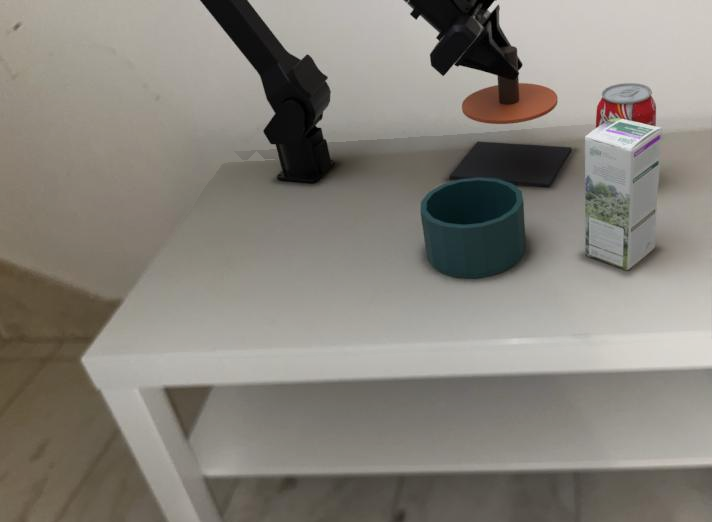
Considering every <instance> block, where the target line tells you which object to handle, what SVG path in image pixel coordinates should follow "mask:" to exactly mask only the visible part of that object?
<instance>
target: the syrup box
mask: <svg viewBox="0 0 712 522" xmlns="http://www.w3.org/2000/svg"><path fill="white" fill-rule="evenodd" d="M662 132H663V128H662V127H661V126H657V125H656V126H651V125H647V124H643V123H639V122H634V121H630V120H625V119H621V118H616V117H615V118H612V119H611V120H609V121H606V122H605V123H603V124H601V125H600V126H598V127H597V128H596V127H595V128H594V129H593V130H591V131H590V132H589V133H588V134H586V135H585V136H584V218H585V219H584V224H585V225H584V232H585V233H584V234H585V239H584V240H585V243H584V246H585V248H584V249H585V256H587V257H589V258H592V259H595V260H597V261H601V262H603V263H606V264H609V265H611V266H614V267H617V268H619V269H622V270H625V271H629V270H630V269H631V268H633V267H634V266H636V265H637V264H638V263H639V262H640V261H642V259H644V258H645V257H646V256H648V255H649V254H650V253H651V252H652V251H653V250H655V249H656V248H655V247H656V234H657V233H656V231H657V229H656V227H657V210H658V195H659V181H660V169H661V168H660V167H661V166H660V165H661V155H662V136H663V133H662Z"/></svg>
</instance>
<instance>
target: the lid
mask: <svg viewBox="0 0 712 522" xmlns="http://www.w3.org/2000/svg"><path fill="white" fill-rule="evenodd" d="M500 49H501V50H502V52H503V53H504V54H505V55H506V56H507V58H508V59H509V60H510V61H511V62H512V64H513V65H514V66H515V68H516V69H517V70H518V58H517V56H518V48H517V47H516V46H513V45H511V46H504V47H500ZM496 77H497V84H496V85H492V86H487V87H484V88H482V89H479V90H476V91H474V92H473V93H470V94H469V95H468V96H467V97H465V99H463V101H462V103H461V112H462V114H464V116H465V117H467V118H468V119H470V120H471V121H474V122H477V123H483V124H491V125H510V124H511V125H513V124H519V123H525V122H529V121H533V120H536V119H538V118H541V117H543V116H545V115H548V114H549V113H551V112H552V111H554V109H555V108H556V107H557V105H558V103H559V101H558V99H559V97H558V94H557V93H556V92H555V91H554V90H553V89H551V88H549V87H547V86H545V85H544V86H543V85H540V84H535V83H527V82H519V80H520V79H519V76H518V77H517V78H516V79H515V80H511V79H507V78H504V77H501V76H497V75H496Z"/></svg>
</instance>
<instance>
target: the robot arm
mask: <svg viewBox="0 0 712 522" xmlns="http://www.w3.org/2000/svg"><path fill="white" fill-rule="evenodd" d="M403 1H404V2H405V4H407V5H408V6H409V7H410V8H411V9H412V10H411V12H410V13H409V15H410V16H411V17H412V18H413V19H414V20H415V21H417V20H418V19H419V17H421V18H422V19H423V20H424V21H425V22H427V24H429V25H430V26H431V27H432V28H433V29H434V30H435V31H436V32H437V33H438V34H437V36H436V37H435V39H436V40H437V41H438V42H437V43H436V45H434V47H433V49H432V50H431V52H430V53H429V60H430V66H431V67H432V68H433V69H434V70H435V71H437V72H438V73H439V74H440V75H441V76H442V77H444V76H445V75H446V74H448V72H449V71H450V69H451V68H453V66H455V67H457V68H458V67H464V68H469V69H472V70H477V71H481V72H483V73H488V74H491V75H495V76H496V77H497V76H501V77H504V78H507V79H511V80H515V79H516V78H517V77H518V78H519V75H520V70H521V69H522V68H523V65H524V64H523V62H522V61H521V59H520V57H519V56H518V55H517V58H518V70H517V69H516V68H515V66H514V65H513V64H512V62H511V61H510V60H509V59H508V58H507V56H506V55H505V54H504V53H503V52H502V50H501V49H500V47H504V46H512V44H511V43H510V41H509V39H508V38H507V36H506V34H505V32H504V30H503V29H502V28H501V25H500V10H501V9H500V7H501V6H500V4H497V5H496V6H495V7H494V8H493V10H492V11H490V10H489V9H490V7H491V6H492V5H493V3H494V2H497V0H403ZM199 2H201V4H202V5H203V6H204V8H205V9H206V10H207V12H209V14H210V15H211V16H212V17H213V19H214V20H215V22H216V23H217V24H218V25H219V26H220V28H221V29H222V30H223V31H224V33H225V34H226V35H227V36H228V38H229V39H230V41H232V42H233V44H234V45H235V46H236V48H237V49H238V50H239V51H240V52H241V54H242V55H243V56H244V57H245V58H246V60H247V61H248V62H249V64H250V65H251V66H252V68H253V69H254V70H255V71H256V72H257V74H258V76H259V77H260V81H261V84H262V88H263V91H264V95H265V99H266V101H267V102H268V104H269V105H270V108H271V109H272V111H273V113H274V114H273V116H272V117H271V119H270V120H269V122H268V123H267V124H266V126H265V128H264V129H263V134H264V136H265V137H266V139H267V140H268V142H269V144H270V145H275V148H276V152H277V156H278V159H279V163H280V164H279V165H280V168H281V171H280V172H279V173H278V174H276V179H277V180H281V181H290V182H291V181H292V182H302V183H316V182H317V181H318V180H319V179H321V178H322V177H323V176H324V175H325V174H326V173H327V172H328V171H329V170H331V168H332V167H334V165H336V160H335V159H333V158H332V159H331V154H330V150H329V145H328V140H327V139H326V138H325V137H324V133H323V129H322V127H319V126H317V124H318V123H319V122H321V121H322V120H323V118H324V111H325V110H326V109H328V107H329V105H330V102H331V93H332V92H331V89H330V88H331V87H330V86H329V84H328V82H327V80H328V79H329V77H328V76H327V74H324V73H323V72H322V71H321V70H320V68H319V67H318V65H317V64H316V62H315V60H314V59H313V57H312V56H311V55H310V54H307V53H306V55H304V56H303V58H301V59H300V58H299V57H297V56H295V55H293V54H292V53H290V52H288V50H287V49H286V48H285V47H284V45H283V44H282V43H281V42H280V40H279V39H278V38H277V36H276V35H275V33H274V32H273V31H272V30H271V28H270V27H269V26H268V25H267V23H266V22H265V21H264V19H263V18H262V17H261V16H260V14H259V13H258V12H257V10H255V8H254V7H253V5H252V4H251V2H250V1H249V0H199Z"/></svg>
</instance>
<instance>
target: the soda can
mask: <svg viewBox="0 0 712 522" xmlns="http://www.w3.org/2000/svg"><path fill="white" fill-rule="evenodd" d="M652 94H653V91H652V89H651V87H649V86H647V85H645V84H643V83H642V84H641V83H635V82H624V83H623V82H622V83H616V84H613V85H610V86H608V87H605V89H604V90H602V92H601V98H600V100H599V102H598V104H597V106H596V113H595V129H596V128H597V127H598V126H600V125H601V124H603V123H605V122H606V121H609V120H611V119H612V118H615V117H616V118H621V119H625V120H630V121H634V122H639V123H643V124H647V125H651V126H656V127H657V105H656V101H655V99H654V98H653V96H652Z"/></svg>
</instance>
